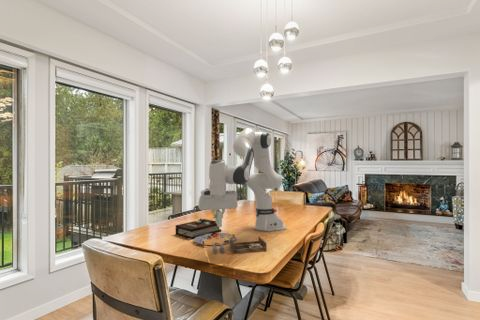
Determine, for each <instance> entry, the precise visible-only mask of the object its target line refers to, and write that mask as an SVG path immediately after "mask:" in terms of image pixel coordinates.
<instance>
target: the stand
mask: <svg viewBox="0 0 480 320" xmlns="http://www.w3.org/2000/svg"><path fill="white" fill-rule="evenodd" d="M219 244H220V245H219V249H220V251H221V253H222V254H225V253H226V252H225V247H224V244H223V243H219ZM212 247H213V248H212V250H213V252H214V254H215V255H217V254H218V249H217V245H215V244H212Z"/></svg>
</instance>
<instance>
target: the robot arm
mask: <svg viewBox="0 0 480 320" xmlns="http://www.w3.org/2000/svg"><path fill="white" fill-rule="evenodd" d="M271 144H272V136H271V135H270V133H269V132H266V131H263V132H262V131H254V130H253V129H251V128H244V129H243V130H241V132H240V133H239V134H238V136H237V137H236V138H235V141H234V142H233V144H232V145H233V146H232V148H233V152H234V154H236V155H237V156H239V157H240V158H243V159H242V162H241V164H239V165H228V164H227V163H226V161H225V160H224V159H214V160H211V162H210V163H209V167H208V168H209V169H208V172H209V173H208V176H209V177H208V179H209V184H208V185H209V186H208V188H205V189H202V190H201V191H200V196H199V198H198V206H197V207H198V210H199V211H208V210H209V211H210V210H211V213H212V214H213V219H215V218H217V217H216V216H217V215H216V214H215V209H219V210H221V212H222V219H223V218H224V214H225V212H226V210H227V209H229V210H231V209H237V208H238V192H237V191H235V190H227V184H229V185H240V186H244V185H246V186H247V187H248V188H250V190H251V191H252V192H253V193H254V196H255V206H256V207H255V218H256V219H255V222H254V223H255V224H254V229H255V230H257V231H265V232H273V231H281V230H287V226H286V225H285V224H284V221H283V219H282V218H281V217H280V216H279V215H278V214H276V213H277V211H278V210H277V209H276V208H273V199H272V196H271V195H270V194H269V193H266V192H265V189H266V190H270V189H271V190H274V189H279V188H280V187H281V186H282V183H283V178H282V176H281V175H280V174H279V173H277V171H275V170H274V168H273V167H272V163H271V158H270V149H269V147H270V146H271ZM252 165H254V167H255V168H256V169H257V170H259V171H260V172H253V173H251V169H252Z"/></svg>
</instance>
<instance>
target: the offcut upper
mask: <svg viewBox="0 0 480 320" xmlns="http://www.w3.org/2000/svg"><path fill="white" fill-rule="evenodd" d="M250 247H252V248H257V247H261V245H259V244H251V245H250Z"/></svg>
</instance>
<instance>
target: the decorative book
mask: <svg viewBox="0 0 480 320" xmlns="http://www.w3.org/2000/svg"><path fill="white" fill-rule="evenodd" d="M213 232H217V233H222V229H221V228H220V227H218V226H217V224H216V221H215V220H212V219H206V218H201V217H200V218H199V219H197V220H195V221H189V222H185V223H180V224H177V225H175V236H177V235H179V237H181V236H182V238H184V237H185V239H188V238H189V239H188V240H194V238H196V237H198V236H201V235H204V234H210V233H213Z"/></svg>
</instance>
